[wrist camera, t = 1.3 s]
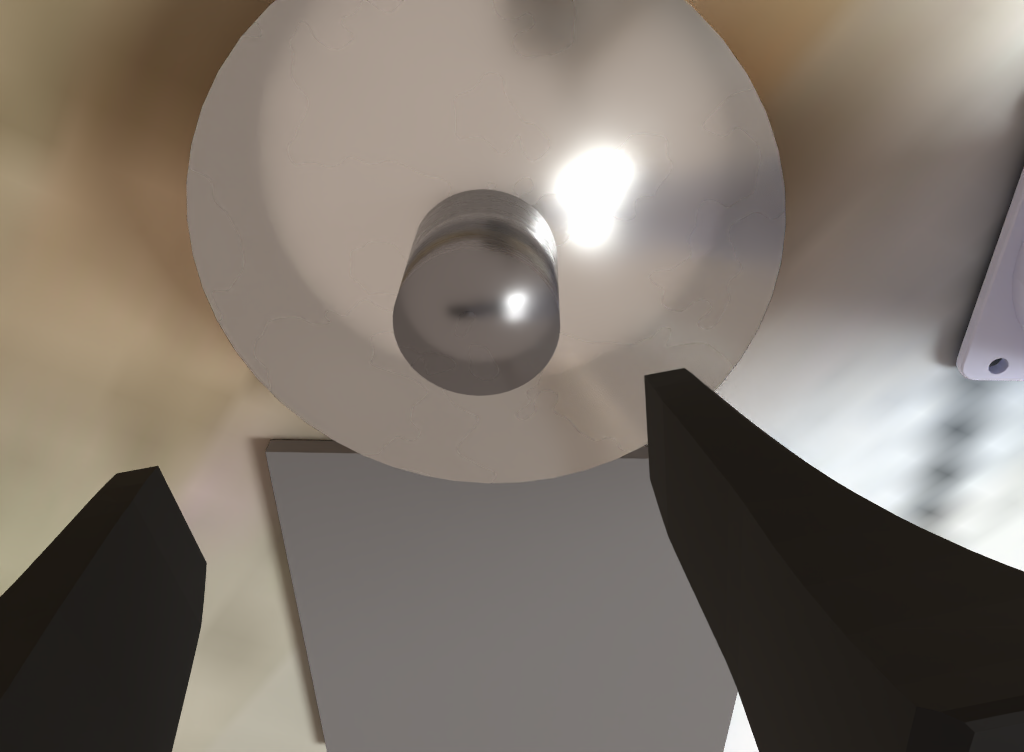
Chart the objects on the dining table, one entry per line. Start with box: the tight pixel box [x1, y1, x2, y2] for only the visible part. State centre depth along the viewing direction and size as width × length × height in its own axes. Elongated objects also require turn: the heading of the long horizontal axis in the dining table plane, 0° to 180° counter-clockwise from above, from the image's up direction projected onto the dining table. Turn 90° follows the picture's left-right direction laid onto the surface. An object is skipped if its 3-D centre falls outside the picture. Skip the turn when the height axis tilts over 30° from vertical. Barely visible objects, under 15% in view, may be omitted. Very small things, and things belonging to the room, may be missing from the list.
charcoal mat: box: [265, 440, 738, 752], centre depth 30 cm, size 16×16×1 cm
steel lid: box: [186, 0, 786, 483], centre depth 17 cm, size 13×13×4 cm
